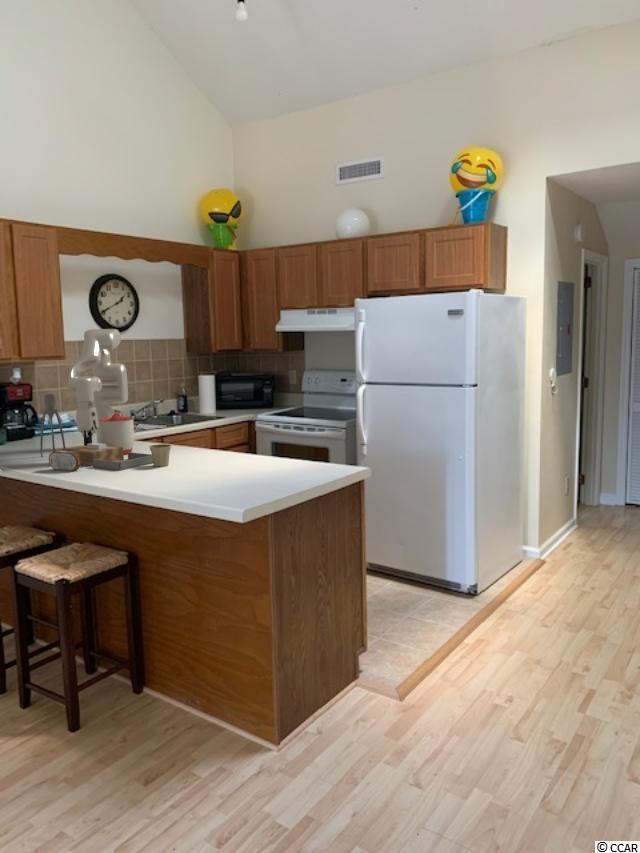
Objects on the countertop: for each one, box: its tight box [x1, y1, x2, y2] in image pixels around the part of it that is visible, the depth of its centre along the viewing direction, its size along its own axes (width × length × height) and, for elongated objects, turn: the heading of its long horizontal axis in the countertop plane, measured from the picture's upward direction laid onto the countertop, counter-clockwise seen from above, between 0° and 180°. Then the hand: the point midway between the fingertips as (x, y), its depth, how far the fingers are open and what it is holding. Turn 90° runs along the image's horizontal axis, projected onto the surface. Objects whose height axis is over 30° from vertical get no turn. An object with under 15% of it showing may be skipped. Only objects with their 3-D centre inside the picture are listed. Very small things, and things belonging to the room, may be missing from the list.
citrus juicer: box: [100, 411, 138, 455], centre depth 320 cm, size 16×17×20 cm
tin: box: [48, 449, 82, 472], centre depth 281 cm, size 15×3×8 cm, turn 71°
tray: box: [92, 452, 153, 471], centre depth 290 cm, size 20×17×4 cm
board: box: [61, 444, 125, 467], centre depth 302 cm, size 16×22×6 cm
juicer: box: [39, 393, 66, 458], centre depth 313 cm, size 10×11×30 cm
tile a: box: [87, 442, 100, 449], centre depth 300 cm, size 4×4×2 cm
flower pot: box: [148, 443, 172, 468], centre depth 286 cm, size 9×9×9 cm
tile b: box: [93, 443, 106, 450], centre depth 298 cm, size 4×4×2 cm
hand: (88, 445), depth 302 cm, fingers closed
